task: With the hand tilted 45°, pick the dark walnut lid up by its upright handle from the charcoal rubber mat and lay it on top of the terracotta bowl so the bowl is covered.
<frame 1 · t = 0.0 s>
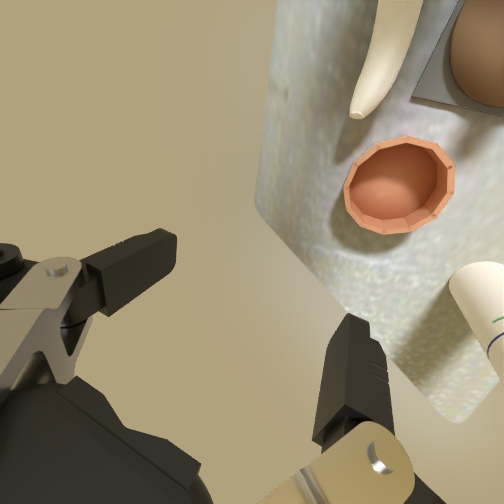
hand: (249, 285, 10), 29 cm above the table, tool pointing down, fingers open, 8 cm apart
cylindrical container: (480, 283, 32), on the table
terracotta bowl: (389, 182, 31), on the table
banana: (390, 21, 25), on the table
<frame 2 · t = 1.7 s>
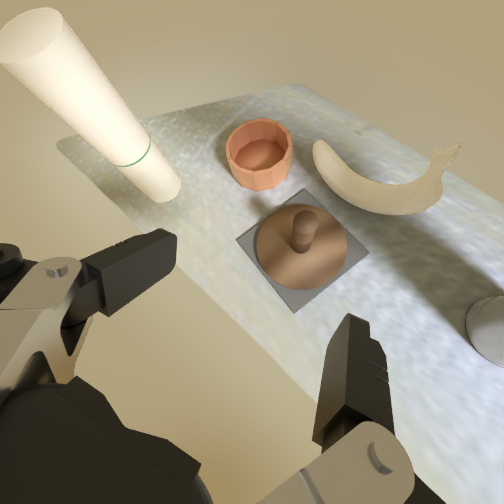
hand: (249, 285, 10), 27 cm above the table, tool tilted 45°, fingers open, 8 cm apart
cylindrical container: (164, 186, 45), on the table
terracotta bowl: (260, 164, 43), on the table
walnut lid: (300, 246, 37), resting on rubber mat
banana: (352, 195, 39), on the table
rubber mat: (299, 247, 38), on the table
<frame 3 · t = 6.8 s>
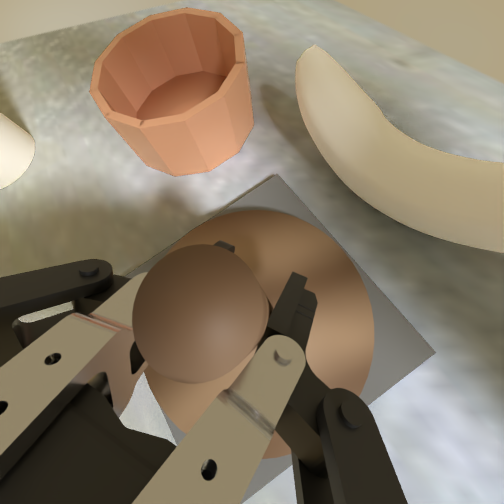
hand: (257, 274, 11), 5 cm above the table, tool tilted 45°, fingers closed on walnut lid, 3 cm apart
cylindrical container: (3, 160, 22), on the table
terracotta bowl: (192, 121, 21), on the table
walnut lid: (251, 316, 15), resting on rubber mat, touching gripper
banana: (386, 194, 17), on the table
rubber mat: (252, 316, 15), on the table
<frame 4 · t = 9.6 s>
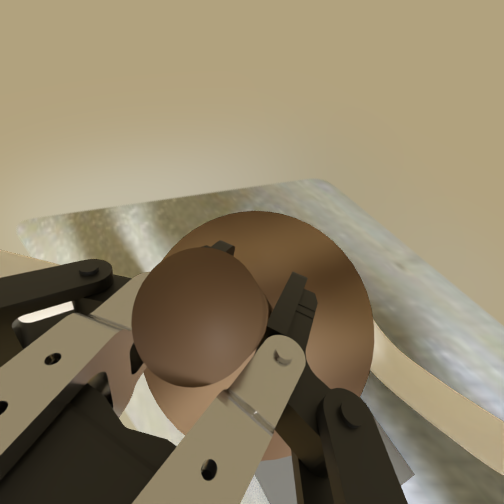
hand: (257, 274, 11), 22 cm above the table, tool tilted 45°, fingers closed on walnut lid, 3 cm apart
cylindrical container: (139, 310, 34), on the table
walnut lid: (251, 317, 15), point 18 cm above the table, touching gripper
banana: (389, 364, 28), on the table
rubber mat: (313, 441, 27), on the table
when the fingers open (11 cm above the table, at t = 12.3 s): walnut lid drops 1 cm, resting on terracotta bowl.
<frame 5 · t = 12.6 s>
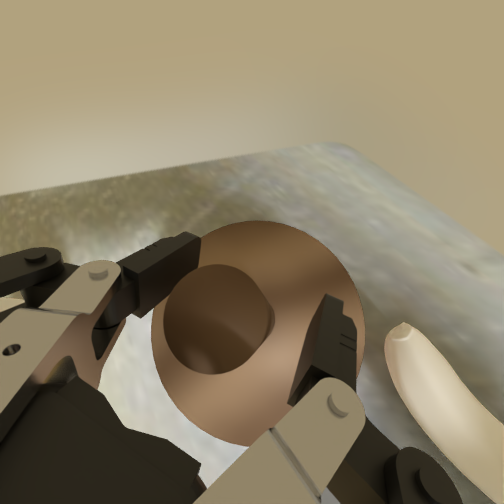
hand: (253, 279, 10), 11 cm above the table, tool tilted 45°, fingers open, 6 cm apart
walnut lid: (254, 318, 16), point 5 cm above the table, touching terracotta bowl
banana: (467, 434, 17), on the table
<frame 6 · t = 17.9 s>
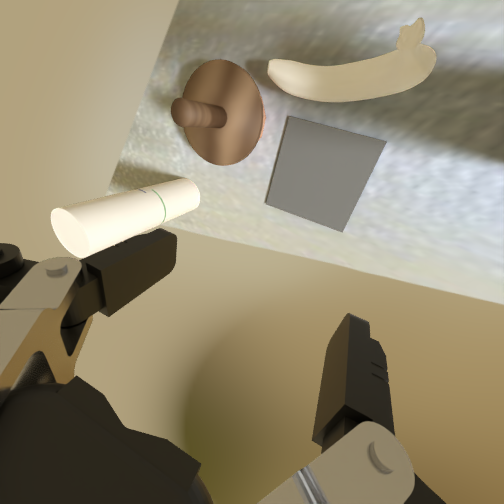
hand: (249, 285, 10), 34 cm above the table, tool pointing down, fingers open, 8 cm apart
cylindrical container: (187, 194, 51), on the table
walnut lid: (221, 117, 36), point 5 cm above the table, touching terracotta bowl
banana: (340, 83, 33), on the table
rubber mat: (317, 177, 39), on the table
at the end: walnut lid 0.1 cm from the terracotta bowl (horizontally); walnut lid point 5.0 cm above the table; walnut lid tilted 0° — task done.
